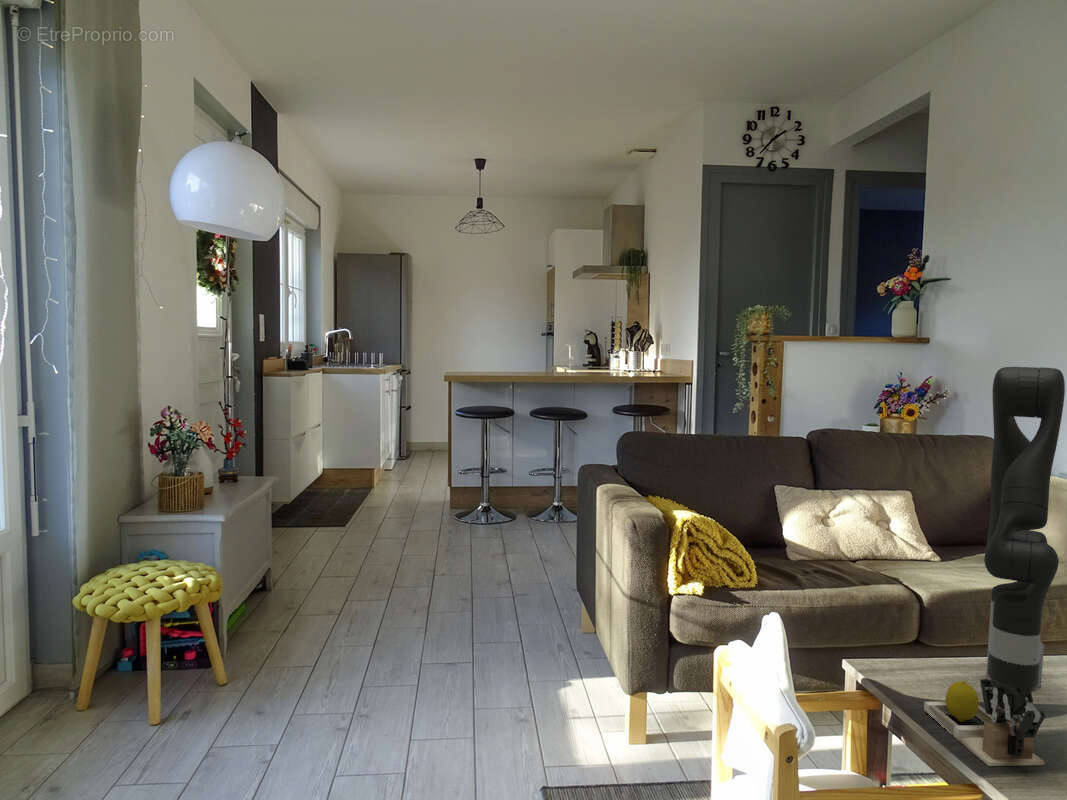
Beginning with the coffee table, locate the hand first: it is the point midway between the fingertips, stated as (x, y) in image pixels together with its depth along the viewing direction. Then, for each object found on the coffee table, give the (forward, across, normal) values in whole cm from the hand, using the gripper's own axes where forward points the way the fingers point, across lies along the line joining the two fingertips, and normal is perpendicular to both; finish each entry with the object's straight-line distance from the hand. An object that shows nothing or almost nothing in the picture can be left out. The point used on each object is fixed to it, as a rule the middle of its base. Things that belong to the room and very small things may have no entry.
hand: (1007, 749), depth 135 cm
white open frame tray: (+2, +6, 0) cm, 7 cm away
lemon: (+2, +13, 0) cm, 13 cm away
